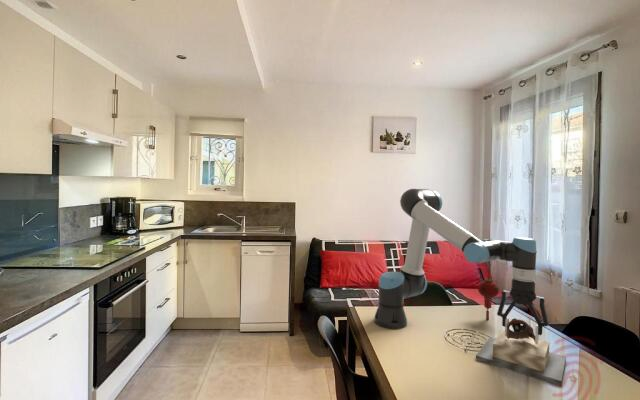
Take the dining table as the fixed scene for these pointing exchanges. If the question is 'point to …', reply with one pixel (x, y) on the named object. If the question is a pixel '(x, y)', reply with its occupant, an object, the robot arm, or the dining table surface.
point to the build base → (547, 375)
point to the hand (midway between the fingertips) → (521, 339)
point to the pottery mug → (519, 330)
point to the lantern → (488, 293)
